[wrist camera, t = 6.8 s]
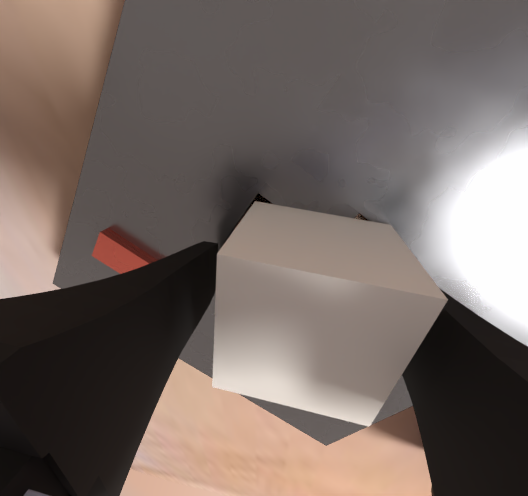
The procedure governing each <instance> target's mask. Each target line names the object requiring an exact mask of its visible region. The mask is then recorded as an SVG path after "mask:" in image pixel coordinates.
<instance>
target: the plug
mask: <svg viewBox="0 0 528 496" xmlns="http://www.w3.org/2000/svg"><path fill="white" fill-rule="evenodd" d="M447 301H448V299H447V298H446V296H445V295H444V294H443V293H442V291H441V290H440V289H439V287H438V286H437V285H436V283H435V282H434V281H433V279H432V278H431V277H430V276H429V274H428V273H427V272H426V270H425V269H424V268H423V266H422V265H421V264H420V262H419V261H418V260H417V258H416V257H415V256H414V255H413V253H412V252H411V251H410V249H409V248H408V247H407V245H406V244H405V243H404V241H403V240H402V239H401V238H400V236H399V235H398V234H397V232H396V231H395V230H394V228H393V227H392V226H391V225H389V224H383V223H378V222H372V221H366V220H360V219H355V218H349V217H343V216H337V215H332V214H326V213H320V212H314V211H309V210H303V209H297V208H291V207H286V206H280V205H274V204H269V203H263V202H257V201H255V202H254V203H253V205H252V206H251V207H250V209H249V210H248V212H247V213H246V214H245V216H244V217H243V219H242V220H241V221H240V223H239V224H238V226H237V227H236V228H235V230H234V231H233V232H232V234H231V235H230V237H229V238H228V239H227V241H226V242H225V244H224V245H223V246H222V248H221V249H220V251H219V252H218V253H217V268H216V296H215V324H214V352H213V380H212V387H214V388H218V389H222V390H226V391H230V392H234V393H238V394H242V395H246V396H250V397H254V398H258V399H262V400H266V401H270V402H274V403H278V404H282V405H286V406H290V407H293V408H297V409H301V410H305V411H309V412H313V413H317V414H321V415H325V416H329V417H333V418H337V419H341V420H345V421H349V422H353V423H357V424H361V425H365V426H369V427H370V425H371V424H372V422H373V420H374V419H375V417H376V416H377V414H378V412H379V411H380V409H381V408H382V406H383V404H384V403H385V401H386V399H387V398H388V396H389V395H390V393H391V391H392V390H393V388H394V387H395V385H396V383H397V382H398V380H399V378H400V377H401V375H402V374H403V372H404V370H405V369H406V367H407V365H408V364H409V362H410V361H411V359H412V357H413V356H414V354H415V353H416V351H417V349H418V348H419V346H420V344H421V343H422V341H423V340H424V338H425V336H426V335H427V333H428V332H429V330H430V328H431V327H432V325H433V323H434V322H435V320H436V319H437V317H438V315H439V314H440V312H441V311H442V309H443V307H444V306H445V304H446V302H447Z"/></svg>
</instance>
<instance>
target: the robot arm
mask: <svg viewBox="0 0 528 496" xmlns="http://www.w3.org/2000/svg"><path fill="white" fill-rule="evenodd" d="M217 253H218V243H212V242H206V241H203V242H200V243H197V244H195V245H192V246H190V247H188V248H186V249H183V250H181V251H179V252H176V253H174V254H172V255H170V256H167V257H165V258H163V259H160V260H157V261H155V262H152V263H150V264H147V265H145V266H142V267H140V268H137V269H134V270H131V271H128V272H125V273H122V274H118V275H115V276H112V277H109V278H105V279H101V280H97V281H93V282H89V283H85V284H81V285H76V286H72V287H68V288H63V289H58V290H53V291H48V292H43V293H37V294H31V295H25V296H19V297H12V298H5V299H0V496H119V495H120V493H121V490H122V487H123V485H124V482H125V480H126V478H127V475H128V472H129V470H130V467H131V465H132V462H133V460H134V457H135V455H136V452H137V450H138V447H139V445H140V443H141V440H142V438H143V435H144V433H145V431H146V428H147V426H148V424H149V421H150V419H151V416H152V414H153V412H154V410H155V407H156V405H157V403H158V401H159V398H160V396H161V394H162V392H163V389H164V387H165V385H166V383H167V381H168V378H169V376H170V374H171V372H172V370H173V368H174V366H175V364H176V361H177V359H178V358H179V356H180V354H181V352H182V350H183V348H184V347H185V345H186V343H187V342H188V340H189V338H190V337H191V335H192V334H193V332H194V330H195V329H196V327H197V325H198V324H199V322H200V320H201V319H202V317H203V315H204V313H205V312H206V310H207V308H208V307H209V305H210V303H211V301H212V298H213V296H214V294H215V291H216V268H217ZM439 289H440V288H439ZM440 290H441V289H440ZM441 291H442V290H441ZM442 293H443V294H444V295H445V296H446V298H447V299H448V301H447V302H446V304H445V306H444V307H443V309H442V311H441V312H440V314H439V315H438V317H437V319H436V320H435V322H434V323H433V325H432V327H431V328H430V330H429V332H428V333H427V335H426V336H425V338H424V340H423V341H422V343H421V344H420V346H419V348H418V349H417V351H416V353H415V354H414V356H413V357H412V359H411V361H410V362H409V364H408V365H407V367H406V369H405V370H404V372H403V374H402V376H403V379H404V381H405V384H406V387H407V390H408V392H409V395H410V398H411V401H412V404H413V408H414V411H415V414H416V418H417V422H418V426H419V430H420V434H421V438H422V442H423V446H424V451H425V455H426V460H427V464H428V469H429V473H430V478H431V482H432V487H433V493H434V496H528V346H526V345H524V344H523V343H521V342H519V341H518V340H516V339H514V338H513V337H511V336H510V335H508V334H506V333H505V332H503V331H502V330H500V329H499V328H497V327H495V326H494V325H492V324H491V323H489V322H488V321H486V320H485V319H483V318H482V317H480V316H479V315H477V314H476V313H474V312H473V311H471V310H470V309H468V308H467V307H466V306H464V305H463V304H461V303H460V302H458V301H457V300H455V299H454V298H453V297H451V296H450V295H448V294H447V293H445V292H444V291H442Z"/></svg>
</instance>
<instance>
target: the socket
mask: <svg viewBox="0 0 528 496" xmlns="http://www.w3.org/2000/svg"><path fill="white" fill-rule="evenodd" d="M258 193H259V194H260V195H262V196H263V197H264V198H266V199H267V200H269V201H270V202H271V203H273V204H274V205H280V206H286V207H291V208H297V209H303V210H309V211H314V212H320V213H326V214H332V215H337V216H343V217H349V218H355V217H356V216H357V215H358V214H359V213H360V214H361V215H363V216H364V217H365V218H366V219H368V220H369V221H372V222H378V223H383V224H389V225H391V226H392V227H393V228H394V230H395V231H396V232H397V234H398V235H399V236H400V238H401V239H402V240H403V241H404V243H405V244H406V245H407V247H408V248H409V249H410V251H411V252H412V253H413V255H414V256H415V257H416V258H417V260H418V261H419V262H420V264H421V265H422V266H423V268H424V269H425V270H426V272H427V273H428V274H429V276H430V277H431V278H432V279H433V281H434V282H435V283H436V285H437V286H438V287H439V288H440V289H441V290H442V291H444V292H445V293H447V294H448V295H450V296H451V297H453V298H454V299H455V300H457V301H458V302H460V303H461V304H463V305H464V306H466V307H467V308H468V309H470V310H471V311H473V312H474V313H476V314H477V315H479V316H480V317H482V318H483V319H485V320H486V321H488V322H489V323H491V324H492V325H494V326H495V327H497V328H499V329H500V330H502V331H503V332H505V333H506V334H508V335H510V336H511V337H513V338H514V339H516V340H518V341H519V342H521V343H523V344H524V345H526V346H528V0H125V3H124V6H123V10H122V14H121V18H120V22H119V26H118V30H117V34H116V38H115V42H114V46H113V49H112V53H111V57H110V61H109V65H108V69H107V73H106V77H105V81H104V85H103V89H102V92H101V96H100V100H99V104H98V108H97V112H96V116H95V120H94V124H93V128H92V132H91V136H90V139H89V143H88V147H87V151H86V155H85V159H84V163H83V167H82V171H81V175H80V179H79V182H78V186H77V190H76V194H75V198H74V202H73V206H72V210H71V214H70V218H69V222H68V225H67V229H66V233H65V237H64V241H63V245H62V249H61V253H60V257H59V261H58V265H57V268H56V272H55V276H54V280H53V284H55V285H56V286H58V287H60V288H61V289H63V288H68V287H72V286H76V285H81V284H85V283H89V282H93V281H97V280H101V279H105V278H109V277H112V276H115V275H118V274H122V273H125V272H128V271H131V270H134V269H137V268H140V267H142V266H145V265H147V264H150V263H152V262H155V261H157V260H160V259H163V258H165V257H167V256H170V255H172V254H174V253H176V252H179V251H181V250H183V249H186V248H188V247H190V246H192V245H195V244H197V243H200V242H203V241H206V242H212V243H218V252H219V251H220V249H221V248H222V246H223V245H224V244H225V242H226V241H227V239H228V238H229V237H230V235H231V234H232V232H233V231H234V228H235V227H236V225H237V224H238V222H239V221H240V219H241V218H242V216H243V215H244V214H245V212H246V211H247V209H248V208H249V206H250V205H251V203H252V202H253V201H254V199H255V198H256V196H257V195H258ZM215 296H216V291H215V294H214V296H213V298H212V301H211V303H210V305H209V307H208V308H207V310H206V312H205V313H204V315H203V317H202V319H201V320H200V322H199V324H198V325H197V327H196V329H195V330H194V332H193V334H192V335H191V337H190V338H189V340H188V342H187V343H186V345H185V347H184V348H183V350H182V352H181V354H180V356H179V359H181V360H183V361H184V362H186V363H188V364H189V365H191V366H193V367H194V368H196V369H198V370H199V371H201V372H203V373H204V374H206V375H208V376H209V377H211V378H213V352H214V324H215ZM240 395H241V396H243V397H245V398H247V399H248V400H250V401H252V402H253V403H255V404H257V405H258V406H260V407H262V408H263V409H265V410H267V411H268V412H270V413H272V414H273V415H275V416H277V417H279V418H280V419H282V420H284V421H285V422H287V423H289V424H290V425H292V426H294V427H295V428H297V429H299V430H300V431H302V432H304V433H305V434H307V435H309V436H311V437H312V438H314V439H316V440H317V441H319V442H321V443H322V444H324V445H326V446H327V445H329V444H331V443H333V442H335V441H338V440H340V439H342V438H344V437H346V436H348V435H351V434H353V433H355V432H357V431H359V430H361V429H364V428H366V427H368V426H365V425H361V424H357V423H353V422H349V421H345V420H341V419H337V418H333V417H329V416H325V415H321V414H317V413H313V412H309V411H305V410H301V409H297V408H293V407H290V406H286V405H282V404H278V403H274V402H270V401H266V400H262V399H258V398H254V397H250V396H246V395H242V394H240ZM411 406H413V404H412V401H411V398H410V395H409V392H408V390H407V387H406V384H405V381H404V379H403V376H402V375H401V377H400V378H399V380H398V382H397V383H396V385H395V387H394V388H393V390H392V391H391V393H390V395H389V396H388V398H387V399H386V401H385V403H384V404H383V406H382V408H381V409H380V411H379V412H378V414H377V416H376V417H375V419H374V420H373V422H372V424H374V423H377V422H379V421H381V420H383V419H385V418H387V417H390V416H392V415H394V414H396V413H398V412H400V411H403V410H405V409H407V408H409V407H411ZM372 424H371V425H372Z"/></svg>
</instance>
